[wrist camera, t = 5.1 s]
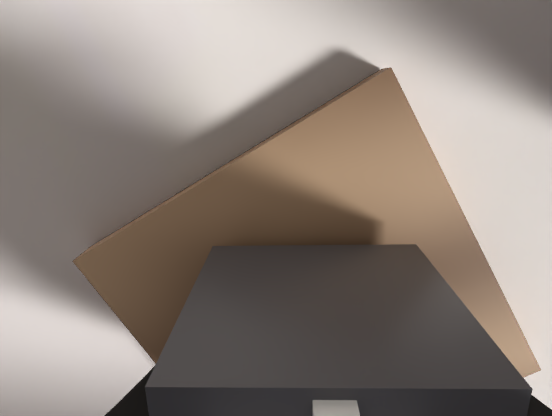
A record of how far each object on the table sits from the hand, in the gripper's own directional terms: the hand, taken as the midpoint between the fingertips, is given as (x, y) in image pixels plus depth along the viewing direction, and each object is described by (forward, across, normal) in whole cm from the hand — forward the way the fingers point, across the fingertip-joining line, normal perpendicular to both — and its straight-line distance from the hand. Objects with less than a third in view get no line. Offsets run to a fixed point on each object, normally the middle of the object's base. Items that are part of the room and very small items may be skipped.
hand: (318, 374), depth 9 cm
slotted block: (+2, 0, 0) cm, 2 cm away
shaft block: (+3, 0, 0) cm, 3 cm away
